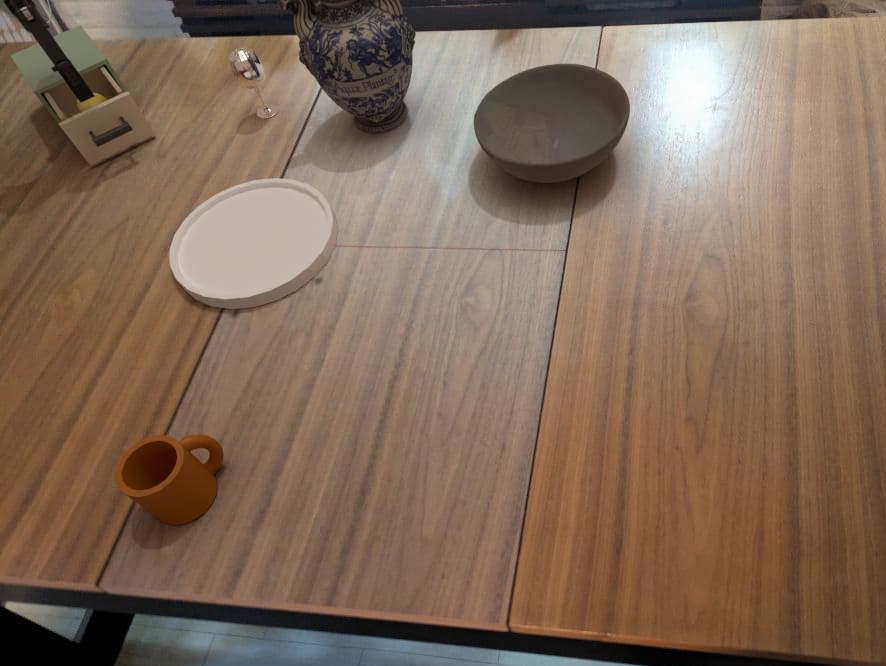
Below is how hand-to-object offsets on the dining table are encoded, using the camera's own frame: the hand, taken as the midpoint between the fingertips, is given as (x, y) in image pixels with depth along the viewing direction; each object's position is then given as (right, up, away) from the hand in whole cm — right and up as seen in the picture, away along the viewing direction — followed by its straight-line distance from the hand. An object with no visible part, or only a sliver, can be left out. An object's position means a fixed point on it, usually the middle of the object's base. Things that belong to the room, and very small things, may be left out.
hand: (75, 82), depth 131 cm
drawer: (+2, -7, +8) cm, 11 cm away
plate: (+38, -33, -10) cm, 51 cm away
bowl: (+89, -16, -5) cm, 91 cm away
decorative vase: (+56, -4, +6) cm, 56 cm away
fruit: (+1, -5, +9) cm, 10 cm away
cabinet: (-7, +3, +16) cm, 18 cm away
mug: (+39, -72, -34) cm, 89 cm away
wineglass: (+32, -1, +10) cm, 34 cm away
